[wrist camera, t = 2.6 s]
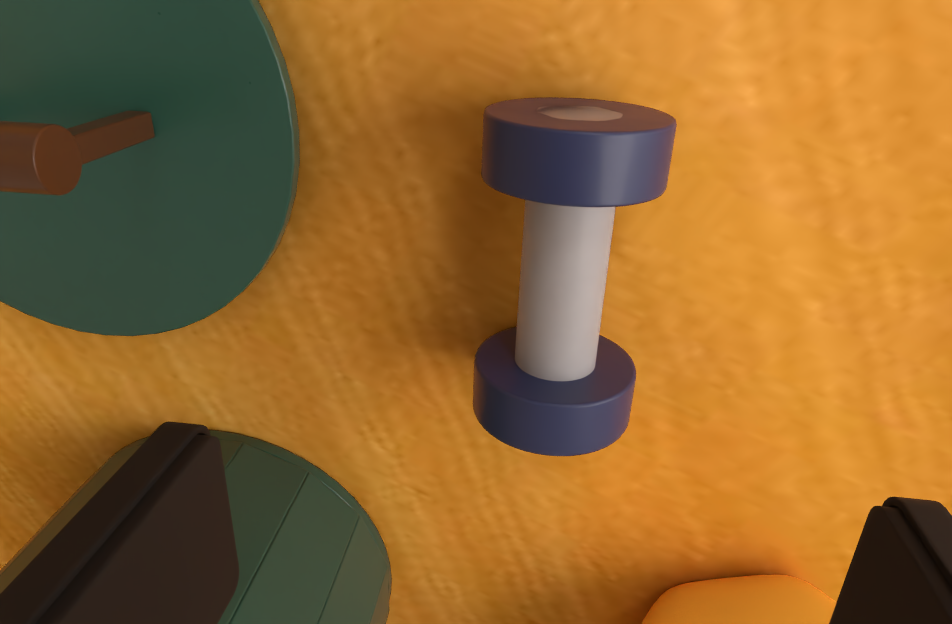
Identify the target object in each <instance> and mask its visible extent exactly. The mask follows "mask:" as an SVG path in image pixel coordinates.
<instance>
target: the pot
mask: <svg viewBox="0 0 952 624" xmlns="http://www.w3.org/2000/svg"><path fill="white" fill-rule="evenodd" d="M209 431H210V435H211V436H215V437H217V438H218V439H219V441H220V445H221V451H222V458H223V464H224V471H225V477H226V484H227V491H228V497H229V504H230V510H231V517H232V524H233V530H234V537H235V543H236V550H237V557H238V563H239V579H238V584H237V587H236V590H235V593H234V595H233V597H232V599H231V600H230V602H229V604H228V606H227V607H226V609H225V611H224V613H223V615H222V616H221V618H220V620H219V622H218V624H386V621H387V617H388V613H389V598H390V594H391V580H392V578H391V569H390V562H389V558H388V555H387V551H386V548H385V545H384V543H383V541H382V539H381V536H380V534H379V532H378V530H377V528H376V527H375V525H374V524H373V522H372V520H371V519H370V517H369V516H368V514H367V513H366V512H365V510H364V509H363V508H362V507H361V506H360V504H359V503H358V502H357V501H356V500H355V498H354V497H353V496H352V495H350V494H349V493H348V492H347V491H346V490H345V489H344V488H343V487H342V486H341V485H340V484H339V483H338V482H336V481H335V480H334V479H333V478H331V477H330V476H329V475H327V474H326V473H325V472H324V471H322V470H321V469H319V468H318V467H316V466H314V465H313V464H311V463H310V462H308V461H306V460H305V459H303V458H301V457H299V456H297V455H295V454H293V453H291V452H289V451H287V450H285V449H283V448H281V447H278V446H275V445H273V444H270V443H267V442H265V441H262V440H259V439H255V438H252V437H248V436H244V435H240V434H236V433H229V432H223V431H217V430H209ZM149 437H150V436H149ZM149 437H146V438H144V439H141V440H138V441H135V442H134V443H132V444H130V445H128V446H126V447H124V448H123V449H121V450H120V451H118V452H116V453H115V454H114V455H113V456H112V457H111V458H109V459H108V460H107V461H106V462H105V463H104V465H103V466H102V467H101V468H100V469H99V470H98V471H96V472H95V473H94V474H93V475H92V476H91V477H90V478H89V479H88V480H87V481H86V482H85V483H84V484H83V485H82V486H81V487H80V488H79V489H78V490H77V491H76V492H75V493H74V494H73V495H72V496H71V497H70V498H69V499H68V500H67V502H66V503H65V504H64V505H63V506H62V507H61V508H60V509H59V510H58V511H57V512H56V513H55V514H54V515H53V516H52V517H51V518H50V519H49V520H48V521H47V522H46V523H45V524H44V525H43V527H42V528H41V529H40V530H39V531H38V532H37V533H36V534H35V535H34V536H33V537H32V538H31V539H30V540H29V541H28V542H27V543H26V544H25V545H24V546H23V547H22V548H21V549H20V550H19V552H18V553H17V554H16V555H15V556H14V557H13V558H12V559H11V560H10V561H9V562H8V563H7V564H6V565H5V566H4V567H3V568H2V569H1V570H0V594H1V593H2V592H3V590H4V589H5V588H6V587H7V586H8V585H9V584H10V583H11V582H12V581H13V580H14V579H15V578H16V577H17V576H18V575H19V574H20V573H21V572H22V570H23V569H24V568H25V567H26V566H27V565H28V564H29V563H30V562H31V561H32V560H33V559H34V558H35V557H36V556H37V555H38V554H39V553H40V552H41V550H42V549H43V548H44V547H45V546H46V545H47V544H48V543H49V542H50V541H51V540H52V539H53V538H54V537H55V536H56V535H57V534H58V533H59V532H60V531H61V529H62V528H63V527H64V526H65V525H66V524H67V523H68V522H69V521H70V520H71V519H72V518H73V517H74V516H75V515H76V514H77V513H78V512H79V511H80V509H81V508H82V507H83V506H84V505H85V504H86V503H87V502H88V501H89V500H90V499H91V498H92V497H93V496H94V495H95V494H96V493H97V492H98V491H99V489H100V488H101V487H102V486H103V485H104V484H105V483H106V482H107V481H108V480H109V479H110V478H111V477H112V476H113V475H114V474H115V473H116V472H117V471H118V469H119V468H120V467H121V466H122V465H123V464H124V463H125V462H126V461H127V460H128V459H129V458H130V457H131V456H132V455H133V454H134V453H135V452H136V451H137V450H138V448H139V447H140V446H141V445H142V444H143V443H144V442H145V441H146V440H147V439H148V438H149Z"/></svg>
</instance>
